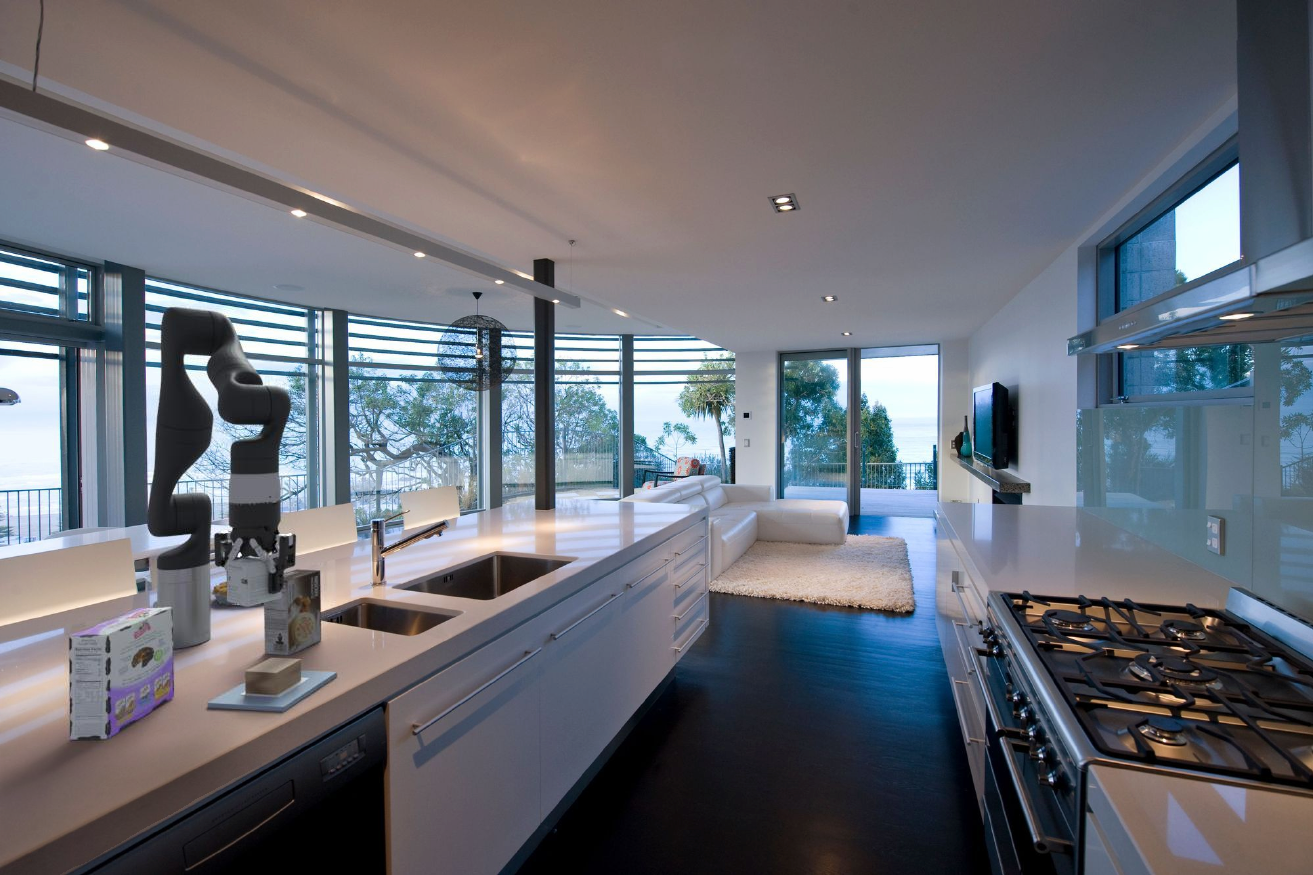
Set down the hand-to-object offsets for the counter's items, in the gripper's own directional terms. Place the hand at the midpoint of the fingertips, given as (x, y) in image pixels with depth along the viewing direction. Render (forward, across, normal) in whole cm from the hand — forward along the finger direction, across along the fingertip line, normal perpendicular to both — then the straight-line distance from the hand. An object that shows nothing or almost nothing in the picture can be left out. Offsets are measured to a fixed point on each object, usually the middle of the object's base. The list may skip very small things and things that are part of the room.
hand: (255, 591), depth 102 cm
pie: (+21, -49, +57) cm, 78 cm away
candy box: (+20, -16, -9) cm, 27 cm away
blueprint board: (+19, +1, +3) cm, 20 cm away
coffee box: (+20, -11, +23) cm, 32 cm away
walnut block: (+18, +1, +3) cm, 19 cm away
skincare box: (+2, 0, 0) cm, 2 cm away
